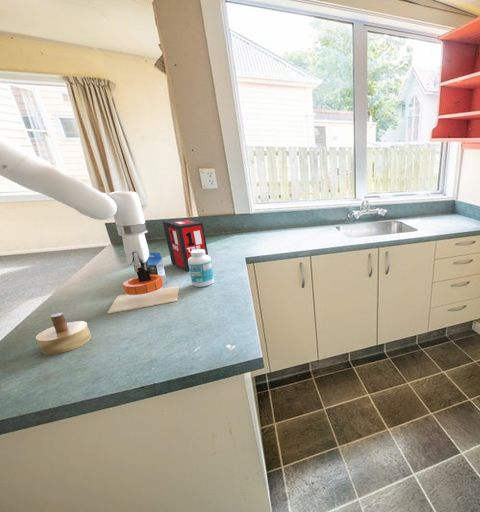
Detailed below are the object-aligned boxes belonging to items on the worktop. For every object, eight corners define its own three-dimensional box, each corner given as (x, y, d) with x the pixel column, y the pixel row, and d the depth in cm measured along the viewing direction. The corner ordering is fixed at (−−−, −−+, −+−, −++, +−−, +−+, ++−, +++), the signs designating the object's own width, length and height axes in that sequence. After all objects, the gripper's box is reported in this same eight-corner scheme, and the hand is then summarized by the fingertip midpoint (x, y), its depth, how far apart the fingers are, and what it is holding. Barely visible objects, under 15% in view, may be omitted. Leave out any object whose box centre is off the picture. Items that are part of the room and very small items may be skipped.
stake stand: (33, 359, 71) (21, 328, 69) (50, 339, 79) (39, 311, 76) (85, 347, 76) (75, 318, 73) (95, 330, 83) (87, 303, 81)
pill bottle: (187, 285, 113) (181, 252, 109) (204, 279, 120) (198, 247, 116) (202, 288, 111) (196, 254, 107) (219, 281, 117) (213, 249, 113)
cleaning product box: (172, 264, 136) (162, 221, 130) (192, 259, 143) (184, 218, 137) (189, 271, 127) (179, 226, 121) (210, 266, 134) (202, 222, 128)
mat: (107, 314, 92) (107, 312, 92) (118, 296, 103) (117, 295, 103) (176, 301, 101) (176, 300, 101) (179, 286, 112) (179, 285, 112)
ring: (122, 297, 94) (119, 288, 93) (129, 285, 103) (126, 277, 102) (161, 290, 99) (159, 282, 98) (165, 280, 108) (163, 272, 107)
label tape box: (137, 285, 112) (129, 255, 109) (145, 281, 116) (138, 251, 113) (160, 286, 112) (153, 255, 109) (168, 282, 116) (161, 252, 113)
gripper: (123, 225, 103) (136, 274, 109) (111, 235, 90) (127, 290, 96) (149, 223, 107) (161, 271, 112) (142, 232, 94) (156, 285, 100)
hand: (145, 279), depth 104 cm, fingers closed on ring, 1 cm apart
